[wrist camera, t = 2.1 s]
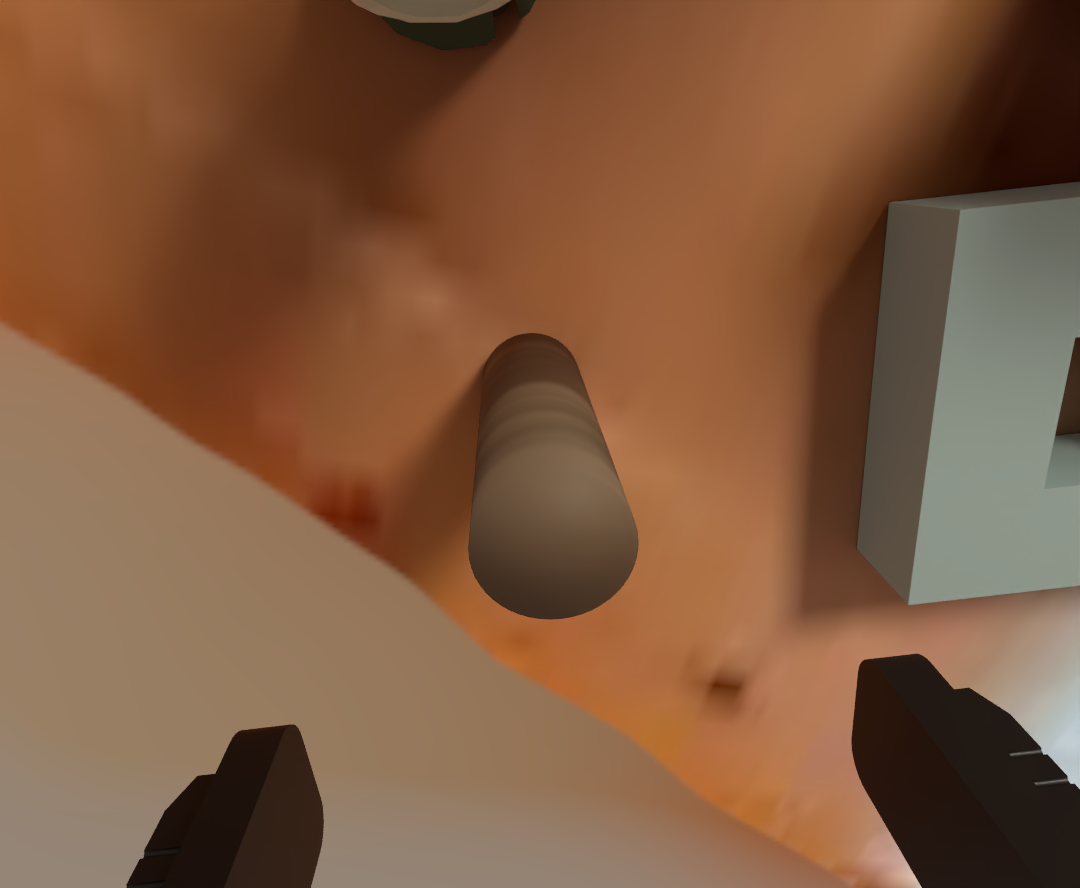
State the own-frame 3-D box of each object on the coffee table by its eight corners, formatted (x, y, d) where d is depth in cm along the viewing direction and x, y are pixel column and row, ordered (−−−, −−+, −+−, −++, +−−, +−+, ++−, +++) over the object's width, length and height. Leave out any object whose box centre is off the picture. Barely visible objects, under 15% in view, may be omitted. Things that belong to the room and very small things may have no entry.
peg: (477, 338, 25) (456, 482, 14) (575, 328, 25) (634, 462, 14) (489, 430, 26) (480, 627, 15) (582, 420, 26) (641, 609, 15)
